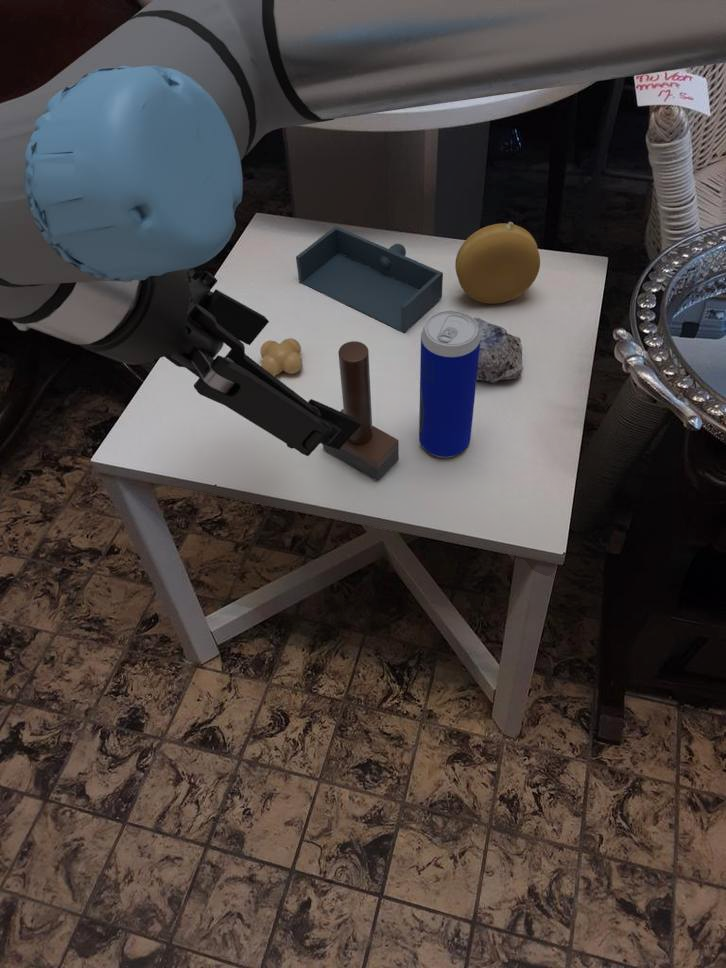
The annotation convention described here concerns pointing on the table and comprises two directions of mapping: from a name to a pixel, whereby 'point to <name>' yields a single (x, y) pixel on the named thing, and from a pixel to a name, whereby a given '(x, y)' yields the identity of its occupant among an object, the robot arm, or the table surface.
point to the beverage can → (448, 382)
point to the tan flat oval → (497, 263)
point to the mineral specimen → (498, 353)
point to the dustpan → (370, 278)
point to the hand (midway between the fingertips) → (300, 380)
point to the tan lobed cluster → (281, 356)
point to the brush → (362, 417)
